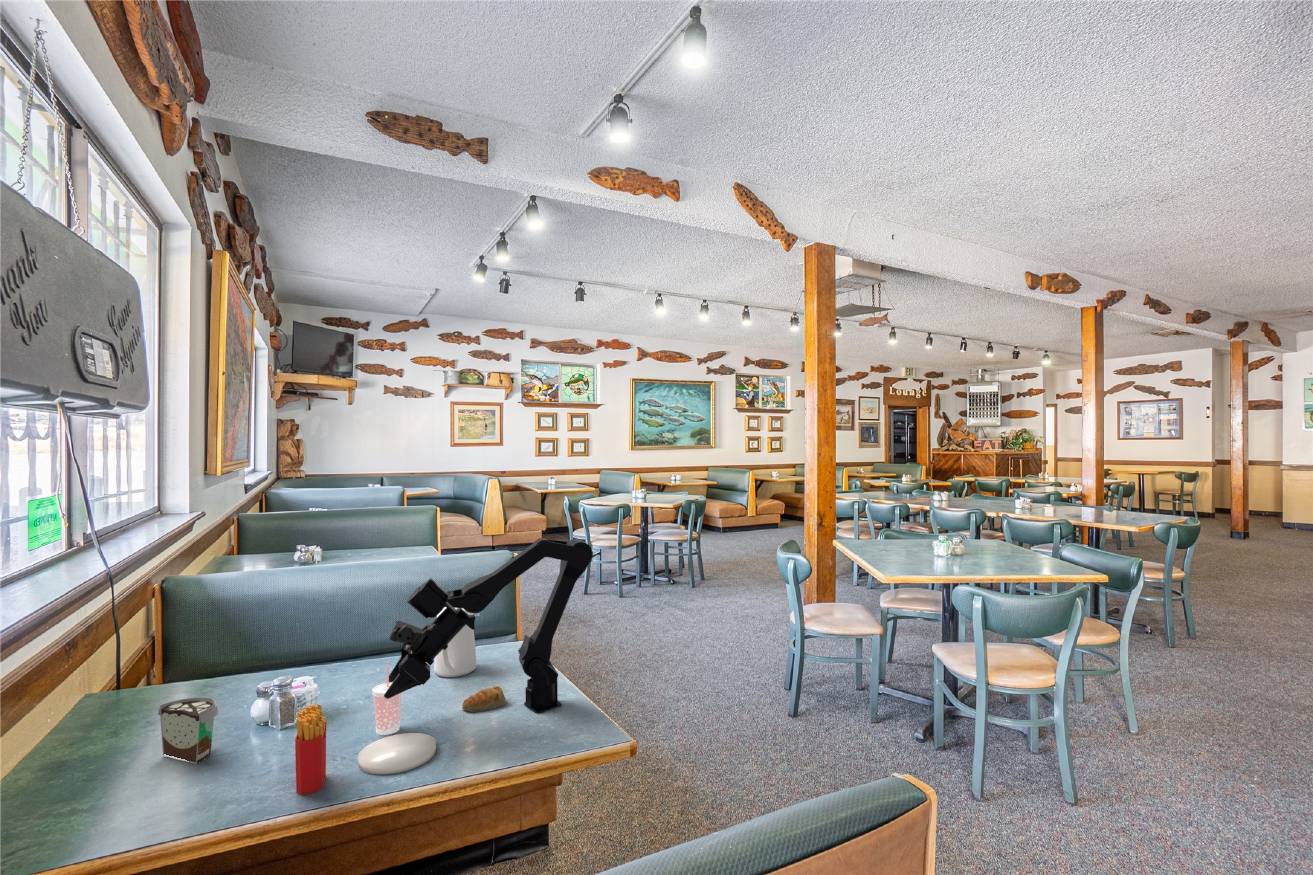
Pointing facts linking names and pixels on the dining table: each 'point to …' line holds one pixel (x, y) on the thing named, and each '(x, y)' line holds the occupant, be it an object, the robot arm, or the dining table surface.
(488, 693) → the pastry
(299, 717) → the french fries
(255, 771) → the dining table surface
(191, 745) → the food container
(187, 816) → the dining table surface
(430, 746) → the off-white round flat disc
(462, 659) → the coffeepot
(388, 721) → the beverage cup
